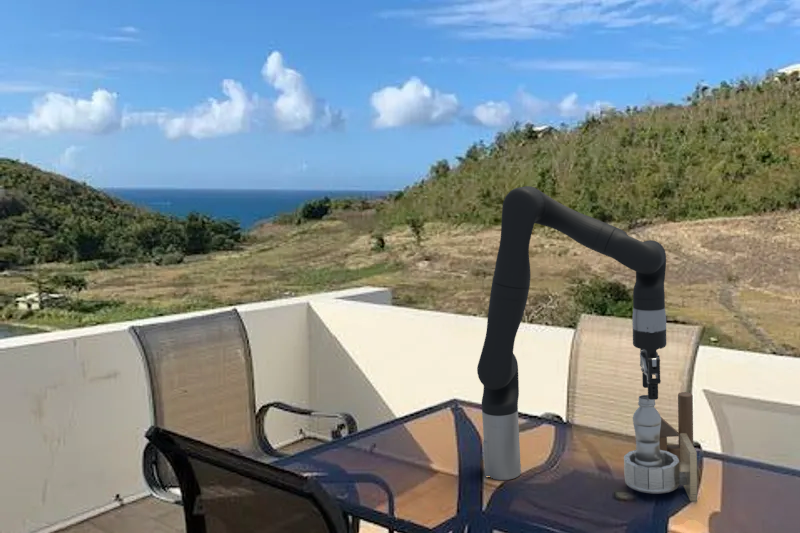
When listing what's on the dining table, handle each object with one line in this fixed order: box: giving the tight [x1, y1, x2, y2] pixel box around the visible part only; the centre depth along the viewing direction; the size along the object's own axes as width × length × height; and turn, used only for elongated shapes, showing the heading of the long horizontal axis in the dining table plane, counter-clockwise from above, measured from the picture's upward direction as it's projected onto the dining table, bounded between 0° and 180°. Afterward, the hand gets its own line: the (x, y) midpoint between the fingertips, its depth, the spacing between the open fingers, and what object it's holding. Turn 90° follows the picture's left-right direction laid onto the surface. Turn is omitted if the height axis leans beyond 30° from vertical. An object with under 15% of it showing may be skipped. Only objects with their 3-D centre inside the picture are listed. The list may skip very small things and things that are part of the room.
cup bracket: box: [623, 433, 698, 503], centre depth 191 cm, size 16×12×12 cm
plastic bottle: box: [632, 394, 663, 467], centre depth 191 cm, size 6×7×20 cm
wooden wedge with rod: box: [659, 391, 694, 463], centre depth 207 cm, size 4×11×18 cm, turn 87°
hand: (650, 393), depth 188 cm, fingers open, 8 cm apart
